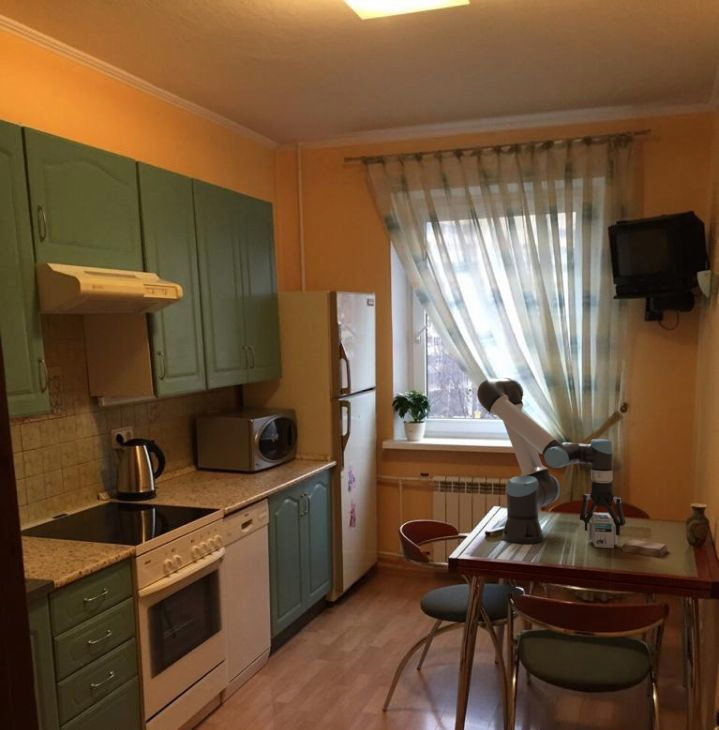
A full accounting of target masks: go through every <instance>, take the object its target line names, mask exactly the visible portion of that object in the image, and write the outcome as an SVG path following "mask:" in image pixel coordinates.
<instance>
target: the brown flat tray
mask: <svg viewBox="0 0 719 730" xmlns="http://www.w3.org/2000/svg"><path fill="white" fill-rule="evenodd" d="M621 548H622V549H621V551H622V552H624V553H625V552H626V553H633V554H637V555H643V556H650V557H656V558H657V557H658V558H662V557H663V556H664V555H665V554H666V553H667V552H668V545H666V543H665V544H664V543H658V542H653V541H652V542H651V541H645V540H638V539H632V538H631V539H628V540H627V541H626V542H625V543H623V544H622V546H621Z"/></svg>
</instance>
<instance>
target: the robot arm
mask: <svg viewBox="0 0 719 730" xmlns="http://www.w3.org/2000/svg"><path fill="white" fill-rule="evenodd" d="M476 396H477V400H478V402H479V404H480V405H481V407H483V409H484V410H486V411H487V412H489V414H490V415H491V416H497V417H498V418H499V419H500V420H502V422H503V424H504V427H505V429H506V433H507V435H508V438H509V441H510V444H511V446H512V449H513V452H514V456H515V457H516V461H517V462H518V465H519V468H520V471H521V474H520V476H513V477H510V478H508V480H507V483H506V490H505V491H506V500H507V501H506V512H507V513H506V514H507V516H506V521H505V524H504V528H503V531H502V539H503V540H504V541H505V542H509V543H513V544H521V545H533V544H539V543H542V542H543V541H544V533H543V529H542V527H541V523H540V521H539V508H542V507H547V506H549V505H551V504H552V503H554V502H556V501H557V500H558V498H559V496H560V495H561V485H560V483H559V480H558V479H557V478H556V477H555V476H553V475H552V474H551V473H550V470H549V469H548V468H549V467H550V468H554V469H555V468H557V469H558V468H563V467H566V466H570V465H575V464H585V465H590V479H591V484H590V490H591V492H590V494H588V493H585V494H583V495H582V500H583V501H582V505H581V509H580V513H579V520H580V521H583V522H584V531H585V532H587V536H586V537H587V541H592V521H591V517H592V514H593V513H594V512H596V508H598V507H604V508H605V509H607V511H608V513H609V514H610V516H611V518H613V527H614V545H615V546H616V545H618V543H619V542H618V536H620V535H621V527H623V526H625V525H626V519H625V514H624V510H623V505H622V502H623V501H622V500H623V498H622V497H617V496H614V494H613V493H614V489H613V487H614V486H613V485H614V484H613V480H614V479H613V475H614V474H613V473H614V472H613V453H614V452H613V443H612V441H611V440H609V439H605V438H601V439H600V438H594V439H591V440H590V443H582V442H581V443H580V442H573V441H570V442H567V441H565V442H562V443H561V442H559V441H558V440H557V439H556V438H555V437H554V436H552V435H551V434H550V433H548V432H547V431H546V430H545V429H544V428H543V427H541V426H540V425H539V424H538V423H536V422H535V421H534V420H533V419H532V418H531V417H530V416H529V415H527V414H526V413H525V412H523V411H522V410H523V407H524V402H523V399H524V398H523V397H524V389H523V386H522V385H521V384H520V383H519V381H517V380H516V379H513V378H510V377H502V378H489V379H485V380H484V381H482V382H481V383H480V384H479V386H478V387H477V393H476ZM538 452H539V453H540V454H541V455H543V456H544V457H543V458H544V460H545V464H546V465H547V466H549V467H547V466H545V465H543V463H542V461H541V458H540V455H539V453H538ZM590 499H591V500H592V504H591V506H590V508H589V511H588V513H587V509H588V505H589V500H590ZM613 501H614V503H615V506H616V511H617V514H616V512H615V509H614V507H613V505H612V504H613V503H612V502H613ZM617 515H618V516H617Z"/></svg>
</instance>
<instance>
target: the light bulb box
mask: <svg viewBox="0 0 719 730" xmlns="http://www.w3.org/2000/svg"><path fill="white" fill-rule="evenodd" d="M590 522H592V539H591V541H592V543H593V545H594V547H595V548H606V549H607V548H608V549H614V547H615V546H614V522H613V518H611V515H610V513H609V512H596V511H594V513H593V514H592V517H591V519H590Z"/></svg>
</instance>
